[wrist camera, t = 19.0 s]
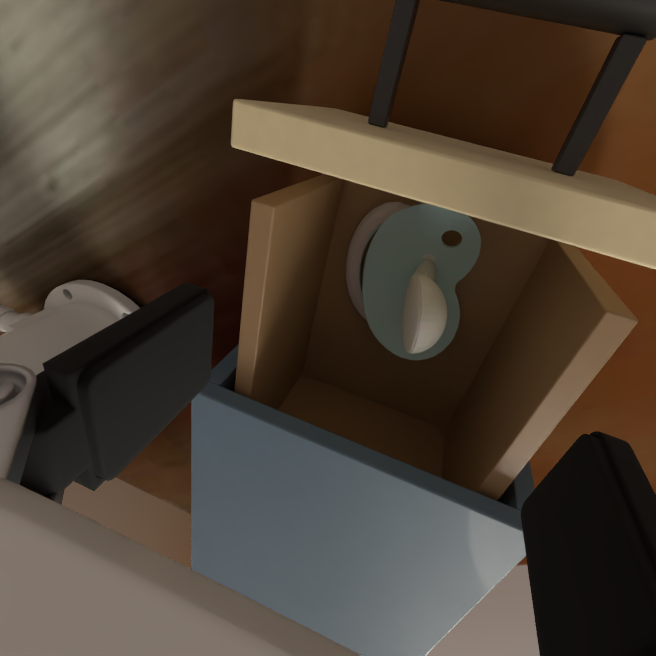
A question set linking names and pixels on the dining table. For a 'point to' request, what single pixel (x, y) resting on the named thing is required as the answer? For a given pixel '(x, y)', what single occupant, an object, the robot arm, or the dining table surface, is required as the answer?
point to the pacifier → (410, 275)
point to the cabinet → (340, 527)
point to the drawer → (472, 291)
